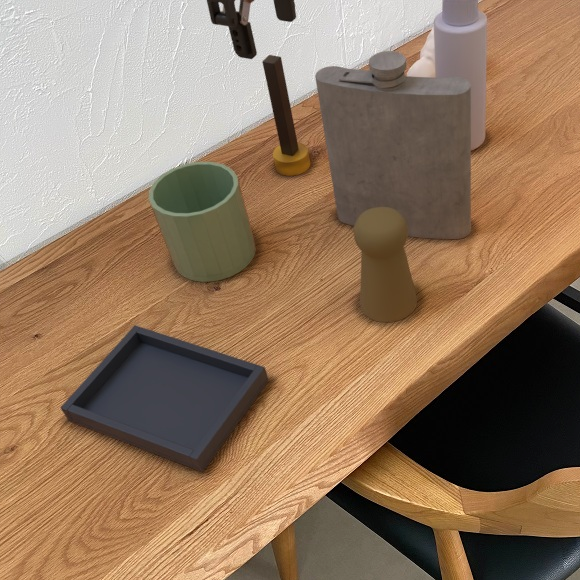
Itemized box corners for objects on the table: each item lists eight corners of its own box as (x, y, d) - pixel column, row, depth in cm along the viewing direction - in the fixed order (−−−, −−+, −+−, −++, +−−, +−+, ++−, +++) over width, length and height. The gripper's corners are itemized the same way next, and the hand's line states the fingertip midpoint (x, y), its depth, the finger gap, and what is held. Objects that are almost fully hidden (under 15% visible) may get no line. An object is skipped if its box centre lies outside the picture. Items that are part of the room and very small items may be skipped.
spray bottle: (494, 144, 100) (499, -41, 83) (451, 159, 99) (448, -26, 82) (470, 121, 104) (470, -60, 87) (429, 135, 102) (421, -46, 85)
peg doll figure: (405, 327, 81) (398, 242, 72) (351, 315, 83) (337, 231, 74) (425, 288, 84) (419, 203, 76) (372, 277, 86) (361, 193, 78)
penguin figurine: (485, 9, 104) (424, 54, 100) (488, 68, 111) (431, 113, 107) (448, -4, 107) (388, 40, 103) (453, 55, 114) (397, 98, 110)
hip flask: (473, 223, 91) (474, 53, 75) (465, 246, 88) (463, 75, 73) (343, 205, 94) (317, 40, 79) (331, 226, 92) (303, 61, 77)
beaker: (157, 270, 89) (130, 204, 82) (203, 220, 95) (182, 154, 88) (226, 290, 86) (205, 224, 79) (271, 237, 92) (254, 171, 85)
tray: (68, 421, 76) (59, 407, 75) (141, 339, 83) (134, 324, 81) (202, 472, 71) (196, 459, 70) (269, 381, 78) (264, 366, 76)
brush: (269, 171, 100) (244, 65, 89) (286, 152, 102) (265, 46, 91) (299, 178, 98) (278, 71, 88) (316, 159, 101) (298, 52, 90)
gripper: (239, -159, 80) (271, 4, 93) (156, -106, 72) (203, 64, 85) (303, -154, 78) (327, 13, 90) (224, -99, 70) (263, 75, 83)
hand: (267, 37), depth 88 cm, fingers open, 8 cm apart
